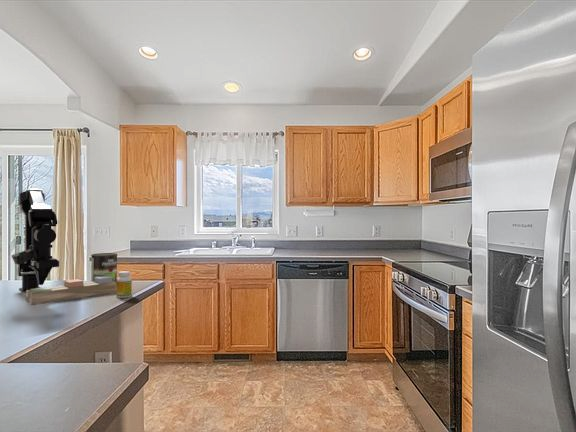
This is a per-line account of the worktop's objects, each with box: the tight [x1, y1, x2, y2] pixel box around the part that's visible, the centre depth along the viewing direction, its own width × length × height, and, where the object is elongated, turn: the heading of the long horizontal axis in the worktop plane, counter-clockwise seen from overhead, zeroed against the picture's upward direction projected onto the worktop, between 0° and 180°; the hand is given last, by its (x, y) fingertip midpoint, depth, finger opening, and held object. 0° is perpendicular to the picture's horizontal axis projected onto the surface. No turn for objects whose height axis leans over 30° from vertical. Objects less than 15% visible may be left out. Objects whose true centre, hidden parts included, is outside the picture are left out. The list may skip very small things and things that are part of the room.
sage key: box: [31, 286, 51, 293], centre depth 132 cm, size 5×5×4 cm
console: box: [25, 281, 117, 306], centre depth 140 cm, size 7×29×4 cm, turn 140°
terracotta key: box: [63, 278, 84, 288], centre depth 140 cm, size 5×5×4 cm
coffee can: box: [90, 252, 118, 286], centre depth 159 cm, size 10×10×14 cm
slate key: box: [94, 276, 112, 284], centre depth 149 cm, size 5×5×4 cm
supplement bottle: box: [115, 270, 133, 299], centre depth 141 cm, size 5×5×10 cm
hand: (40, 284), depth 132 cm, fingers closed
